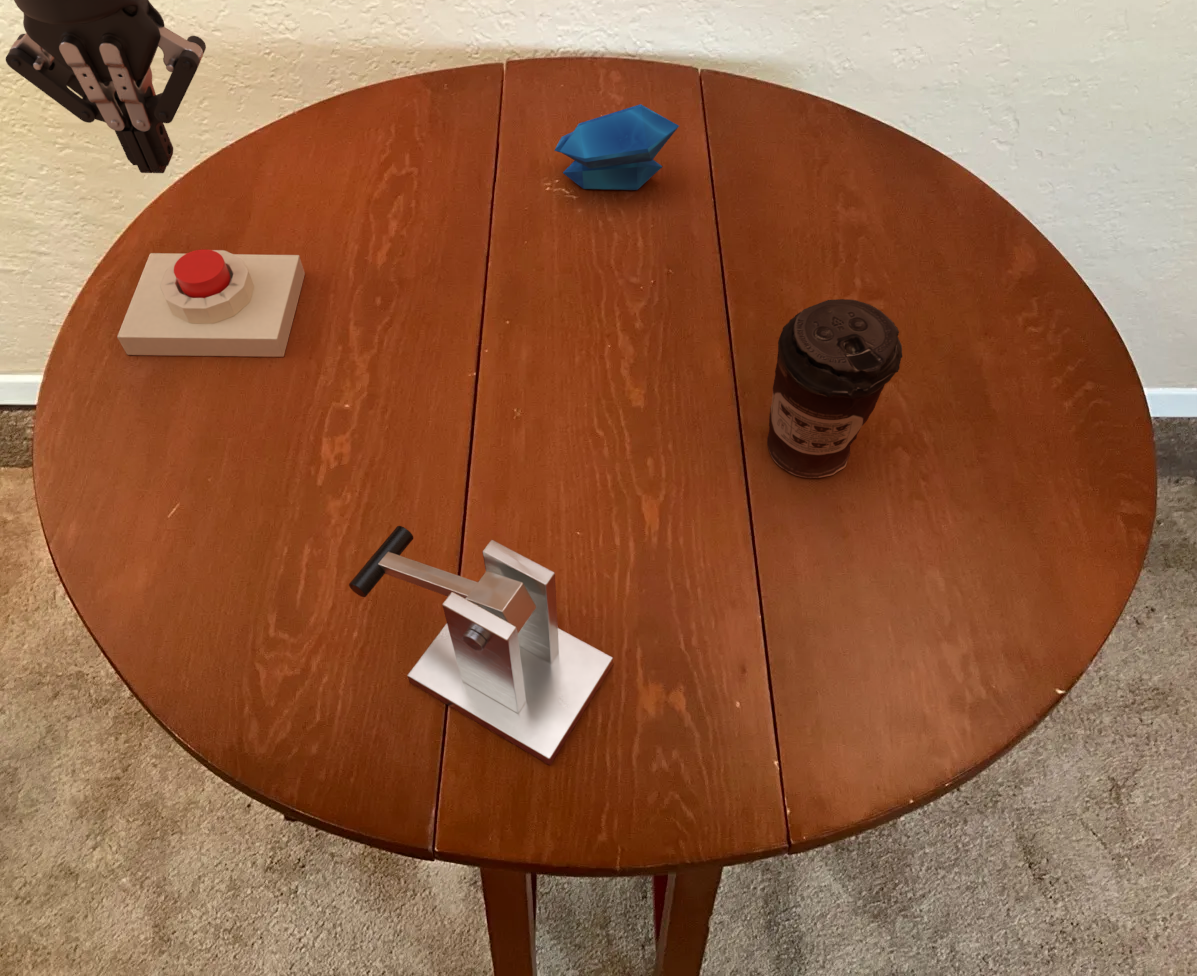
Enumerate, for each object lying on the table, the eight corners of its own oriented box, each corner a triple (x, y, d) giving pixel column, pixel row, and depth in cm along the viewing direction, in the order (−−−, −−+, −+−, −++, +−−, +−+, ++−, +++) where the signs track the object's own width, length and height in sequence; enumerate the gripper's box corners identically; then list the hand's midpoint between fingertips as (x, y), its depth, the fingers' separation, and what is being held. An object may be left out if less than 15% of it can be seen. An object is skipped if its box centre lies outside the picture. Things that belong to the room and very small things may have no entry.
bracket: (409, 682, 64) (377, 597, 54) (477, 591, 68) (459, 496, 58) (550, 766, 61) (543, 691, 51) (613, 664, 65) (618, 578, 55)
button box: (127, 355, 80) (107, 321, 77) (158, 271, 86) (142, 236, 82) (283, 357, 80) (271, 323, 77) (305, 273, 86) (294, 238, 83)
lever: (358, 599, 61) (341, 576, 60) (405, 541, 64) (390, 518, 62) (503, 655, 55) (488, 631, 53) (549, 589, 57) (536, 563, 56)
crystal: (543, 98, 90) (670, 69, 88) (565, 173, 97) (684, 148, 95) (543, 147, 85) (677, 118, 84) (567, 223, 92) (691, 198, 91)
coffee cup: (850, 508, 72) (897, 395, 62) (742, 478, 74) (769, 363, 63) (870, 422, 77) (916, 303, 66) (768, 395, 78) (797, 275, 68)
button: (175, 298, 79) (167, 282, 77) (187, 264, 81) (180, 248, 80) (224, 299, 79) (217, 283, 77) (235, 265, 81) (229, 249, 80)
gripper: (177, -112, 59) (257, 136, 73) (-42, -116, 59) (81, 133, 73) (144, -50, 54) (235, 201, 69) (-93, -54, 54) (48, 198, 68)
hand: (155, 166), depth 71 cm, fingers closed
